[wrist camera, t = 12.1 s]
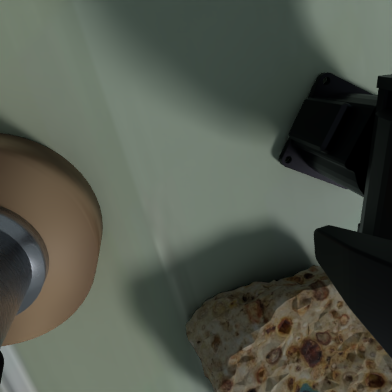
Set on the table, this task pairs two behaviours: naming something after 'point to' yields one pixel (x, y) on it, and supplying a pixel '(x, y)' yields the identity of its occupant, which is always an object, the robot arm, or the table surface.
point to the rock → (287, 339)
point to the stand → (51, 229)
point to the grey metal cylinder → (19, 267)
